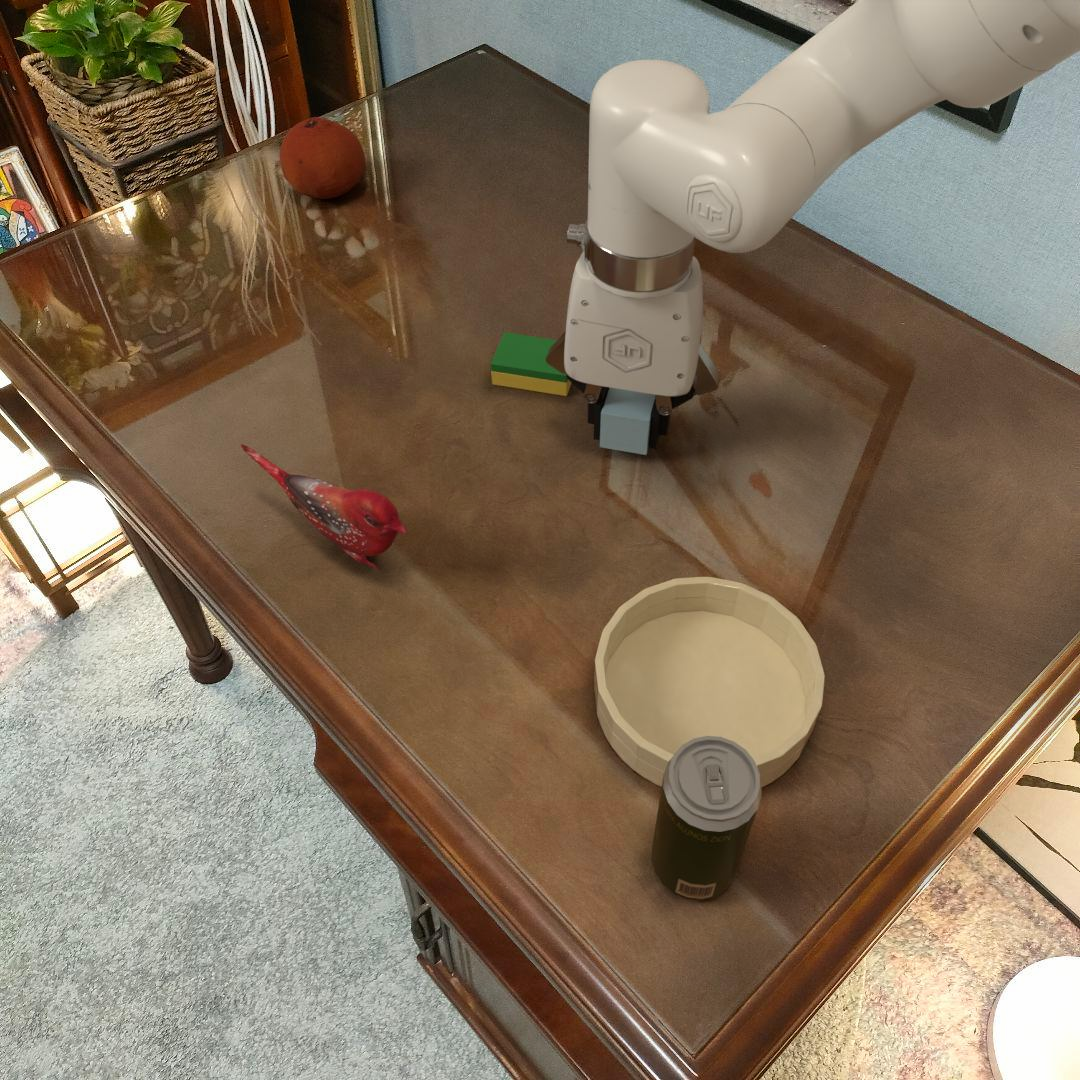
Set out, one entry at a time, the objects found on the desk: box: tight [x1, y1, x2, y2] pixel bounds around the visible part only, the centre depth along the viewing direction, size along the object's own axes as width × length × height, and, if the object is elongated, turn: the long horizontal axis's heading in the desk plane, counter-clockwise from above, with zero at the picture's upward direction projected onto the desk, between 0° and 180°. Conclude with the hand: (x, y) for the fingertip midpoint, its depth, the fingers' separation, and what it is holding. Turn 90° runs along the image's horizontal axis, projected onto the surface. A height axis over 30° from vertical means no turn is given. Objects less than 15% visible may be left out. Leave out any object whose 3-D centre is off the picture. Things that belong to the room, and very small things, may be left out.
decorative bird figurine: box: [240, 444, 408, 571], centre depth 77 cm, size 3×18×10 cm, turn 53°
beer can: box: [651, 736, 763, 902], centre depth 60 cm, size 5×5×12 cm
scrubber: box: [490, 331, 573, 397], centre depth 92 cm, size 7×4×2 cm, turn 76°
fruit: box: [279, 116, 366, 200], centre depth 110 cm, size 9×9×8 cm
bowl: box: [593, 576, 826, 789], centre depth 70 cm, size 15×15×4 cm
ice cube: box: [599, 388, 655, 456], centre depth 85 cm, size 4×4×4 cm
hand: (628, 431), depth 86 cm, fingers closed on ice cube, 4 cm apart
